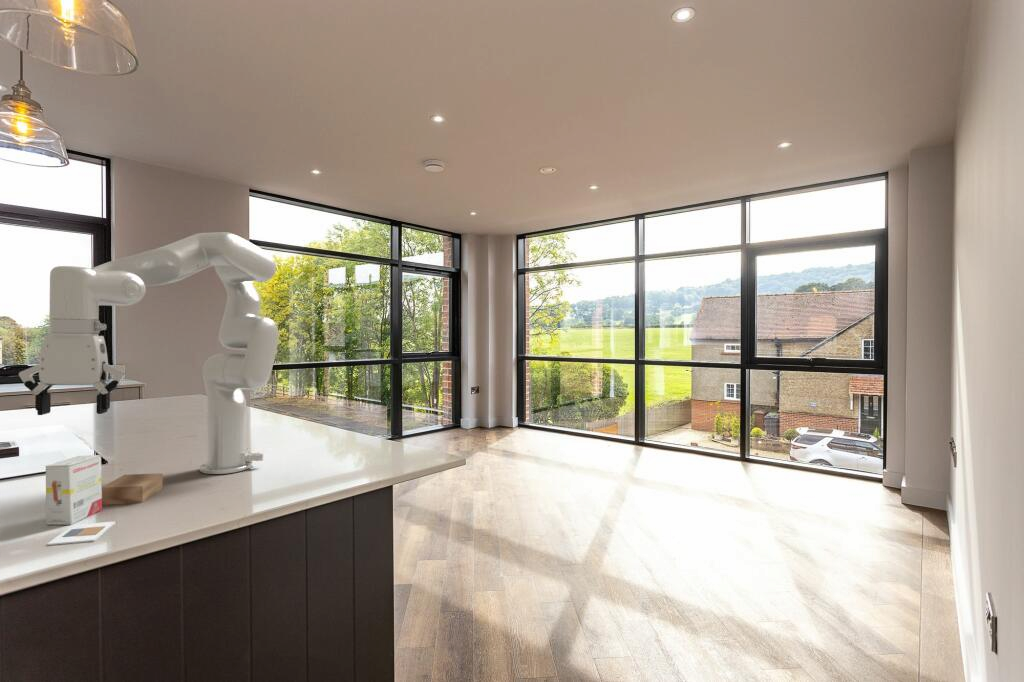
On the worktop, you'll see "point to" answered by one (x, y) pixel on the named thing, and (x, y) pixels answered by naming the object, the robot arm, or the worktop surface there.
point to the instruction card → (82, 533)
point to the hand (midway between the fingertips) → (73, 413)
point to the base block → (132, 488)
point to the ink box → (73, 489)
